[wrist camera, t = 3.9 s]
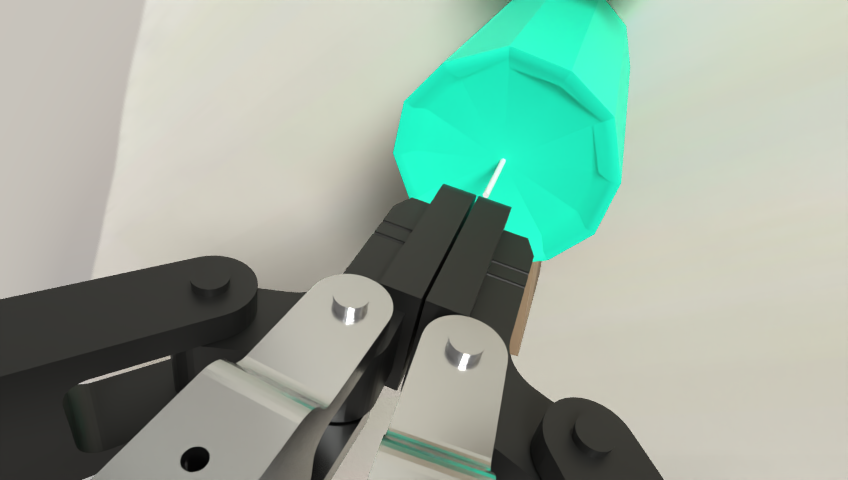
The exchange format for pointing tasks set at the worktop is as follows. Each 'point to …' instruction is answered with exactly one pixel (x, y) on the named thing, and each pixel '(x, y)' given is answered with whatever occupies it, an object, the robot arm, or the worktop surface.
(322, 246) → the worktop surface
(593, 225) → the candle
